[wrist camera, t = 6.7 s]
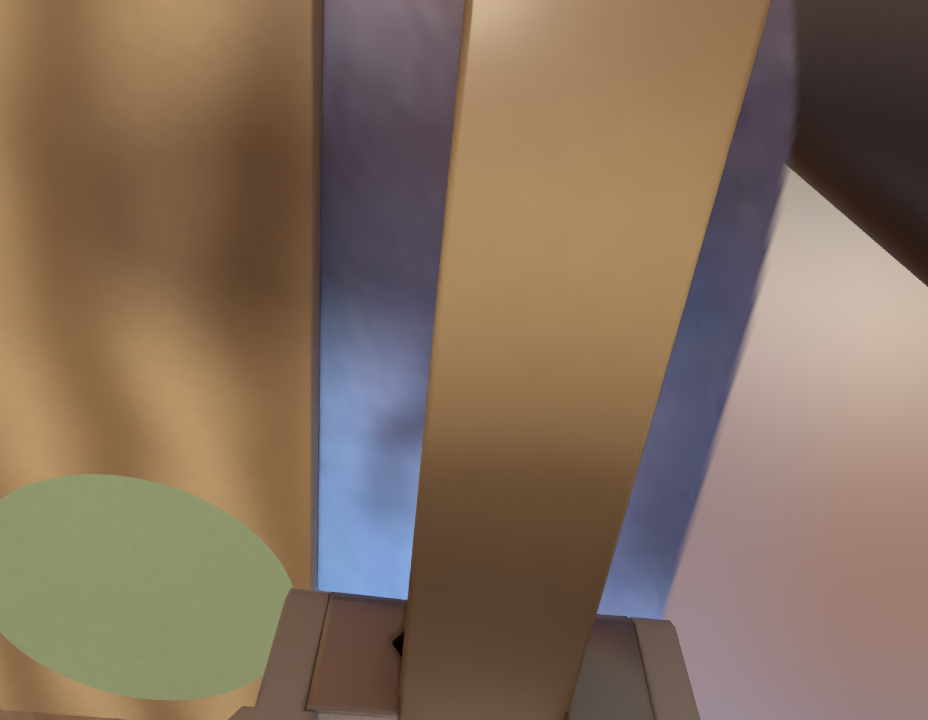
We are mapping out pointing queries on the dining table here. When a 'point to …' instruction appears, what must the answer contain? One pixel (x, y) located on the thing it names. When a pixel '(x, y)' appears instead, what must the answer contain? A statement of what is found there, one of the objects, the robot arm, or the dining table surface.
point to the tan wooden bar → (556, 325)
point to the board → (162, 274)
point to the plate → (136, 587)
